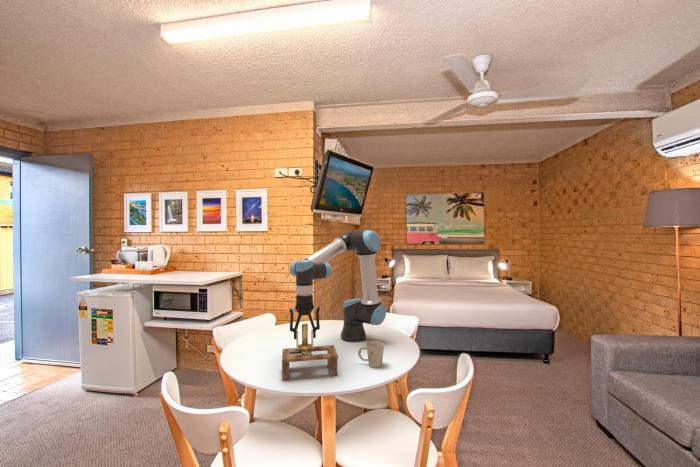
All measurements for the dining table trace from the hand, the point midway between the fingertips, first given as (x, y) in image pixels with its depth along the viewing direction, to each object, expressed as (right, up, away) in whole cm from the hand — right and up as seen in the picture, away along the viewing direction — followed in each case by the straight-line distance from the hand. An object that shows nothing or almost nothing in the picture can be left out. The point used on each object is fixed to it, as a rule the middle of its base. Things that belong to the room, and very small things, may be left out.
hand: (304, 345), depth 146 cm
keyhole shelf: (+2, -12, 0) cm, 12 cm away
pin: (0, -6, 0) cm, 6 cm away
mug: (+30, -12, +8) cm, 33 cm away
